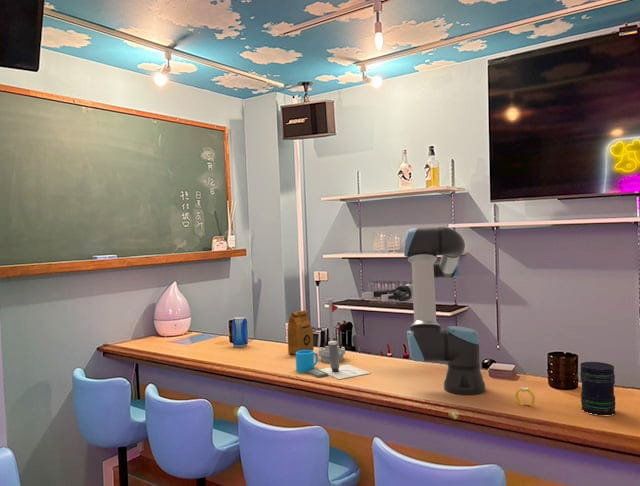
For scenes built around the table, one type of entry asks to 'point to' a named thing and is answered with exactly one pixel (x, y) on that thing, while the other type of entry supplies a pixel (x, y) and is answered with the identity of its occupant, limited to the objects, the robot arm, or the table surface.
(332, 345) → the marker
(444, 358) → the robot arm
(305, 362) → the mug
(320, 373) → the dark grey flat block
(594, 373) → the storage jar
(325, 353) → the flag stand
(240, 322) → the beer can
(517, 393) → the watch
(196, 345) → the table surface
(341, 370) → the paper
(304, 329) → the coffee package
